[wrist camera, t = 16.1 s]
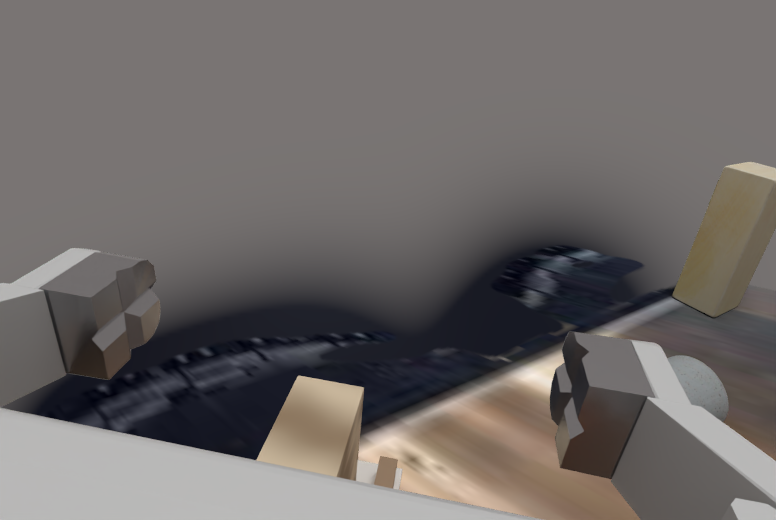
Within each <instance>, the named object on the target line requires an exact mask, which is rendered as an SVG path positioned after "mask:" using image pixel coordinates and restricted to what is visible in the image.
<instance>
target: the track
mask: <svg viewBox="0 0 776 520" xmlns="http://www.w3.org/2000/svg"><path fill="white" fill-rule="evenodd" d="M397 461H398V460H397V459H392V458H387V457H382V456H380V460H379V464H375V463H370V462H365V461H360V460H358V462H357V474H356V481H359V482H363V483H368V484H373V485H378V486H383V487H388V488H392V489H397V490H399V487H400V481H401V475H402V469H400V468H397Z"/></svg>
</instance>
